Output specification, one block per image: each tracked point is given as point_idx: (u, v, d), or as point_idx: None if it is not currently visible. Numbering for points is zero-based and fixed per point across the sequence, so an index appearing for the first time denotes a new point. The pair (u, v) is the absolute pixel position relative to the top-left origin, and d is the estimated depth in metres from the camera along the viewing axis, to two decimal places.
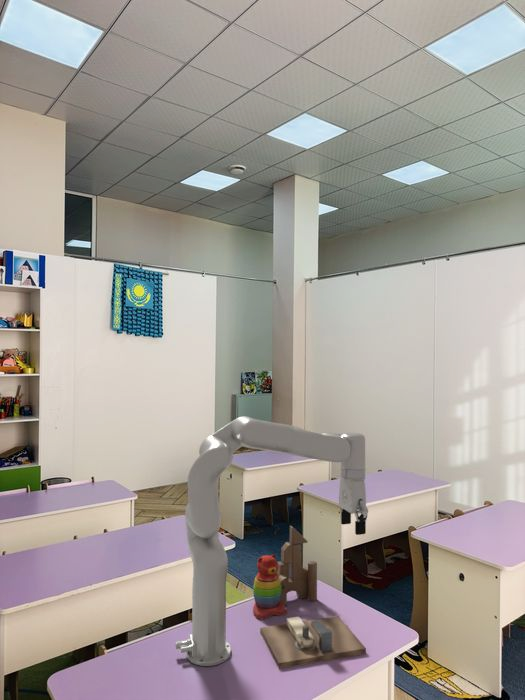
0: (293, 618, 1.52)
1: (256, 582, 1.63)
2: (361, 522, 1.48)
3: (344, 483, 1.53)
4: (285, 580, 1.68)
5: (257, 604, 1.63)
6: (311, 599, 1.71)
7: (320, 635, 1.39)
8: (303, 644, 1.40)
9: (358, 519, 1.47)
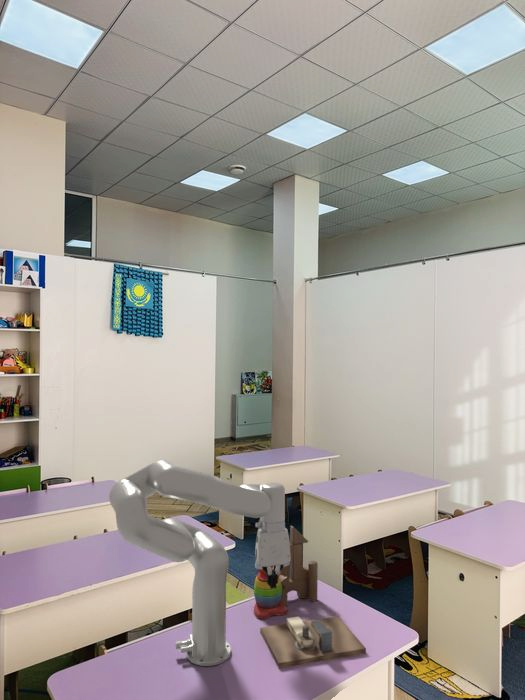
0: (293, 618, 1.52)
1: (257, 582, 1.63)
2: None
3: (275, 538, 1.47)
4: (286, 580, 1.68)
5: (258, 604, 1.63)
6: (311, 599, 1.71)
7: (320, 635, 1.39)
8: (303, 644, 1.40)
9: None
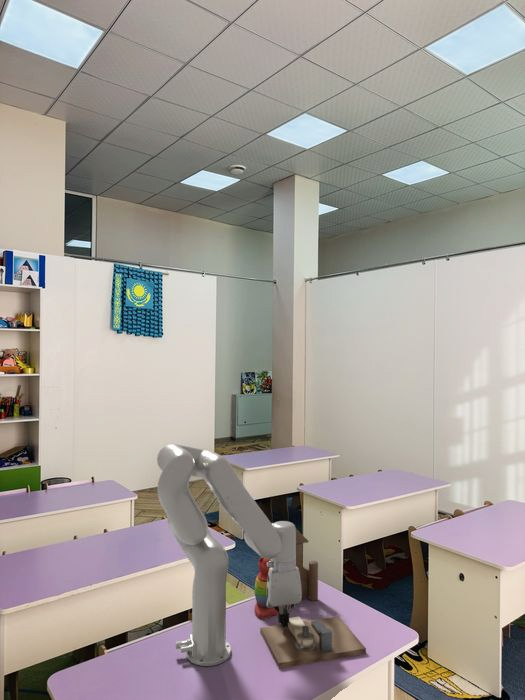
0: (293, 618, 1.52)
1: (257, 582, 1.64)
2: None
3: (286, 578, 1.48)
4: None
5: (258, 604, 1.63)
6: (312, 599, 1.71)
7: (320, 635, 1.39)
8: (303, 644, 1.40)
9: (290, 611, 1.50)
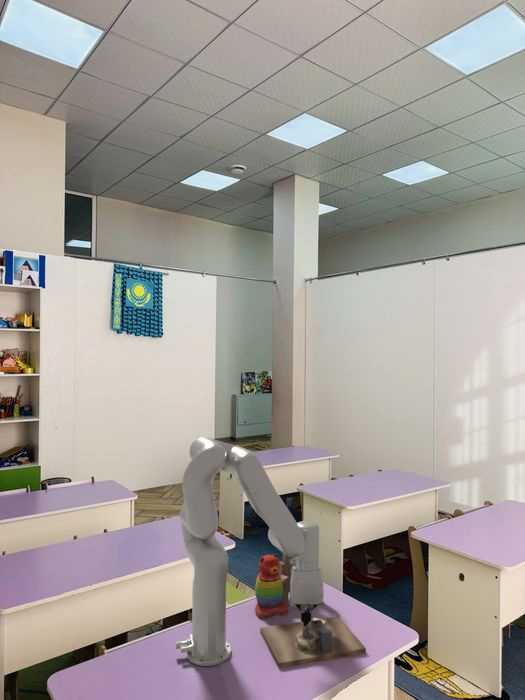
0: None
1: (258, 582, 1.64)
2: None
3: (307, 577, 1.49)
4: (287, 579, 1.68)
5: (259, 604, 1.63)
6: None
7: (320, 635, 1.39)
8: (297, 641, 1.41)
9: None
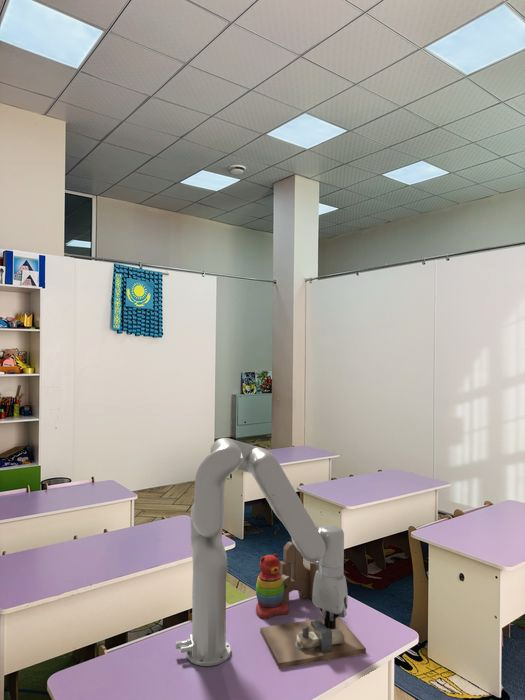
0: (338, 632, 1.44)
1: (259, 582, 1.64)
2: None
3: (325, 582, 1.46)
4: (287, 579, 1.68)
5: (260, 603, 1.63)
6: None
7: (320, 635, 1.39)
8: (297, 637, 1.43)
9: (332, 620, 1.46)
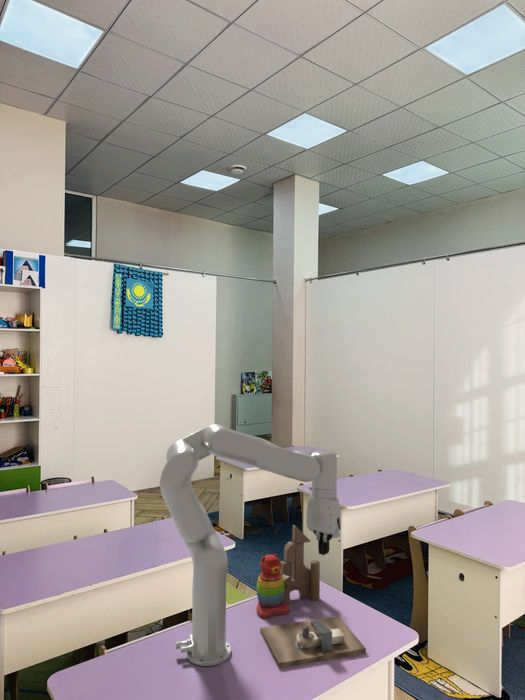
0: (338, 632, 1.44)
1: (259, 581, 1.64)
2: None
3: (318, 504, 1.48)
4: (288, 579, 1.68)
5: (260, 603, 1.63)
6: (314, 598, 1.72)
7: (320, 635, 1.39)
8: (297, 637, 1.43)
9: (326, 541, 1.48)
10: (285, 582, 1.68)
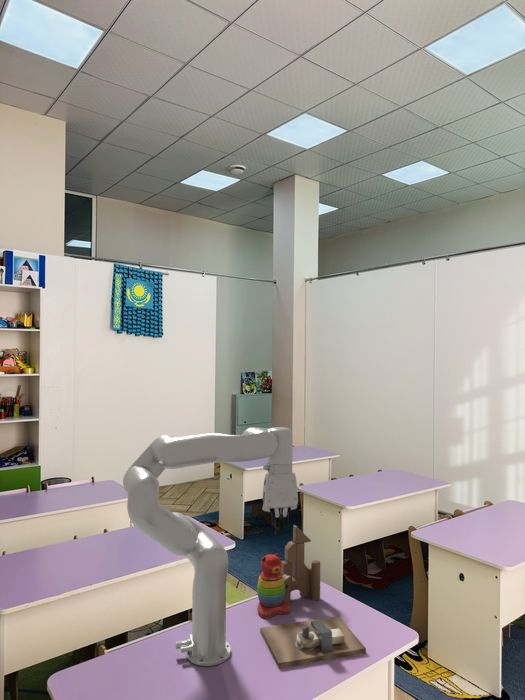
0: (338, 632, 1.44)
1: (260, 581, 1.64)
2: None
3: (282, 480, 1.48)
4: (289, 579, 1.68)
5: (261, 603, 1.64)
6: (314, 598, 1.72)
7: (320, 635, 1.39)
8: (297, 637, 1.43)
9: (286, 515, 1.49)
10: (286, 582, 1.68)
